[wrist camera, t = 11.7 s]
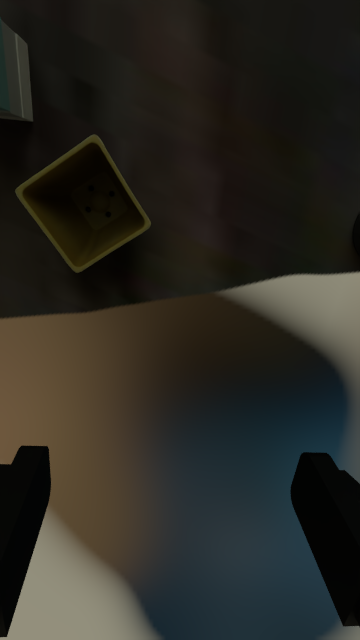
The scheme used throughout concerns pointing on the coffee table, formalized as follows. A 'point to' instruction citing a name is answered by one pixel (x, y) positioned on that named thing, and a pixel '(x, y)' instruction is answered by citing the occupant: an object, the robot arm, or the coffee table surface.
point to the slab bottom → (23, 81)
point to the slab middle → (11, 73)
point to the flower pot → (83, 205)
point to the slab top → (3, 77)
